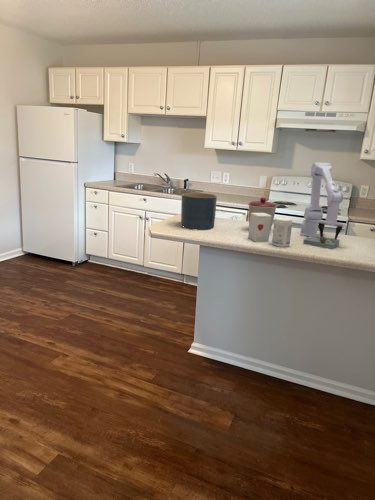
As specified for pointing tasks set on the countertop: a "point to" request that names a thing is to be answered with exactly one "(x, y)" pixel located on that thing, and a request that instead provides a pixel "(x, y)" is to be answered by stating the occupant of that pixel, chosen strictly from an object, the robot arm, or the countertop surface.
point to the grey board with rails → (316, 241)
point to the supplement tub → (282, 231)
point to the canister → (262, 208)
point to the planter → (198, 210)
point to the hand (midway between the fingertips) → (328, 238)
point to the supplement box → (259, 227)
